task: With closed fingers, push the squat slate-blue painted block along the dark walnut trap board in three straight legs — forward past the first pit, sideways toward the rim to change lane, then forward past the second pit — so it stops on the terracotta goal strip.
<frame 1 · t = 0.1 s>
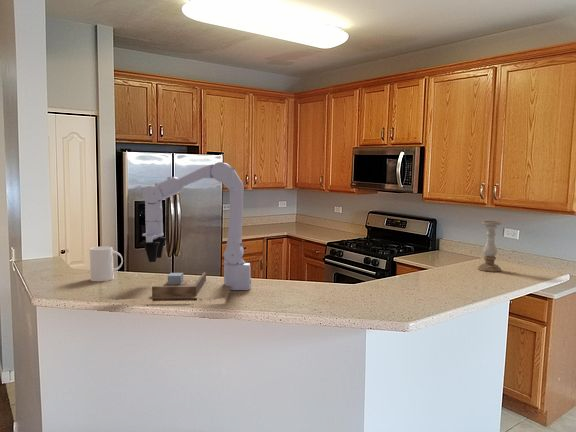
hand: (155, 259, 158), 10 cm above the table, fingers open, 7 cm apart
trap board: (180, 291, 154), on the table
candle holder: (489, 270, 189), on the table
mug: (106, 279, 173), on the table
block: (175, 282, 160), point 1 cm above the table, touching trap board
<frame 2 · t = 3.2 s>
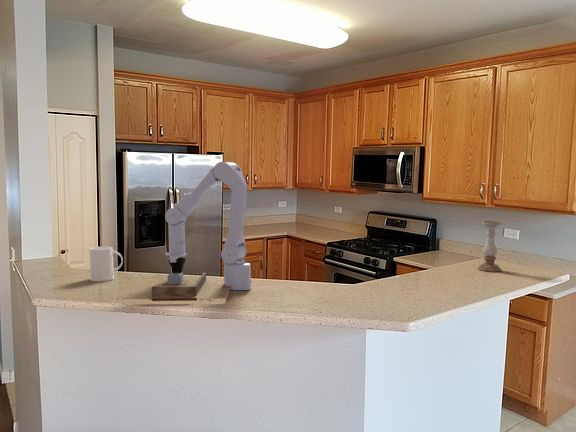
hand: (177, 278, 164), 2 cm above the table, fingers closed
block: (175, 282, 160), point 1 cm above the table, touching gripper, trap board
everything else where it was.
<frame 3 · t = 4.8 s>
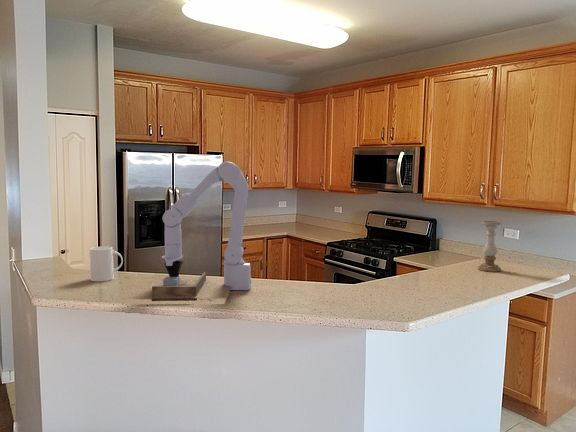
hand: (174, 282, 158), 2 cm above the table, fingers closed
block: (171, 286, 155), point 1 cm above the table, touching gripper, trap board
everything else where it was.
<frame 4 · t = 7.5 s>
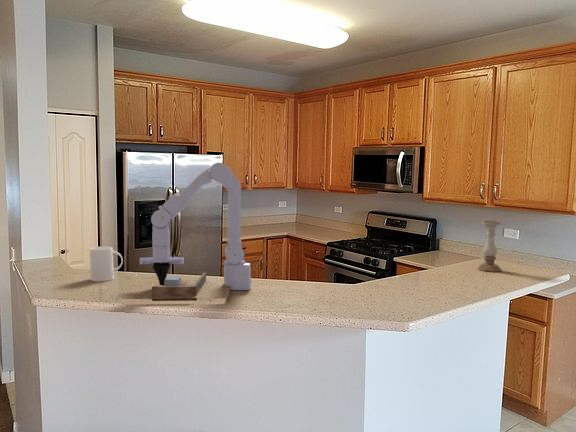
hand: (162, 284, 154), 2 cm above the table, fingers closed
nothing on the table moved.
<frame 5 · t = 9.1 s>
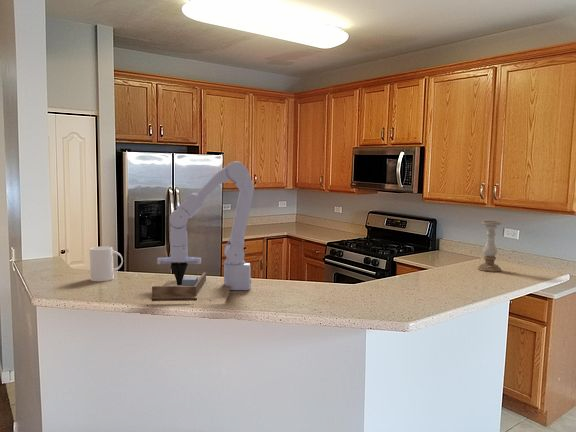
hand: (179, 284, 155), 2 cm above the table, fingers closed
block: (190, 286, 155), point 1 cm above the table, touching gripper, trap board
everything else where it was.
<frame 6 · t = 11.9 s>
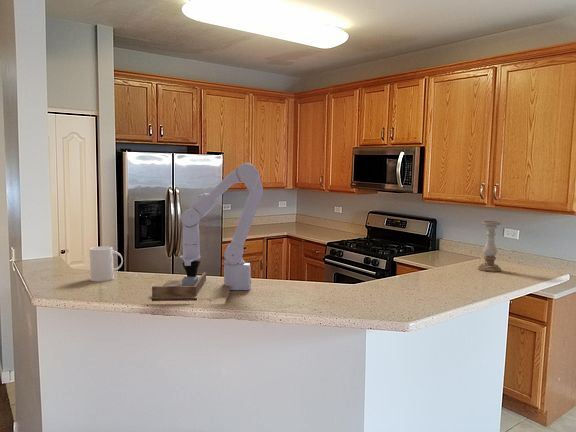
hand: (192, 282, 158), 2 cm above the table, fingers closed
nothing on the table moved.
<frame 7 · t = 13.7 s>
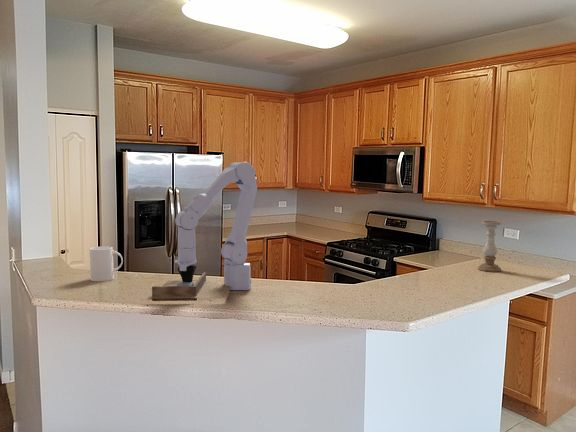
hand: (187, 287, 150), 2 cm above the table, fingers closed
block: (185, 292, 147), point 1 cm above the table, touching gripper, trap board
everything else where it was.
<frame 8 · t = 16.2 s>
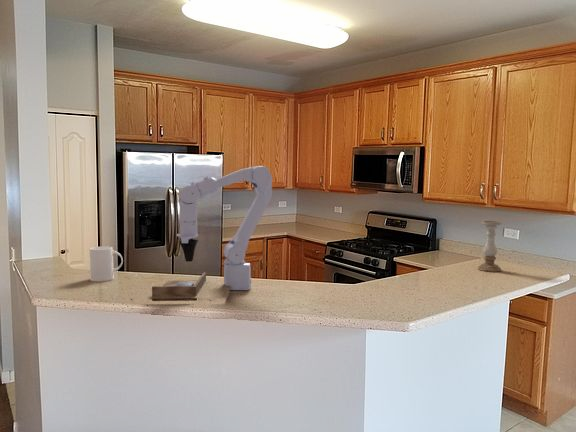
hand: (189, 261, 154), 10 cm above the table, fingers closed
block: (185, 292, 147), point 1 cm above the table, touching trap board
everything else where it was.
at the end: block 0.3 cm from the target spot on the trap board, point 1.4 cm above the trap board's base; block tilted 0° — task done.
